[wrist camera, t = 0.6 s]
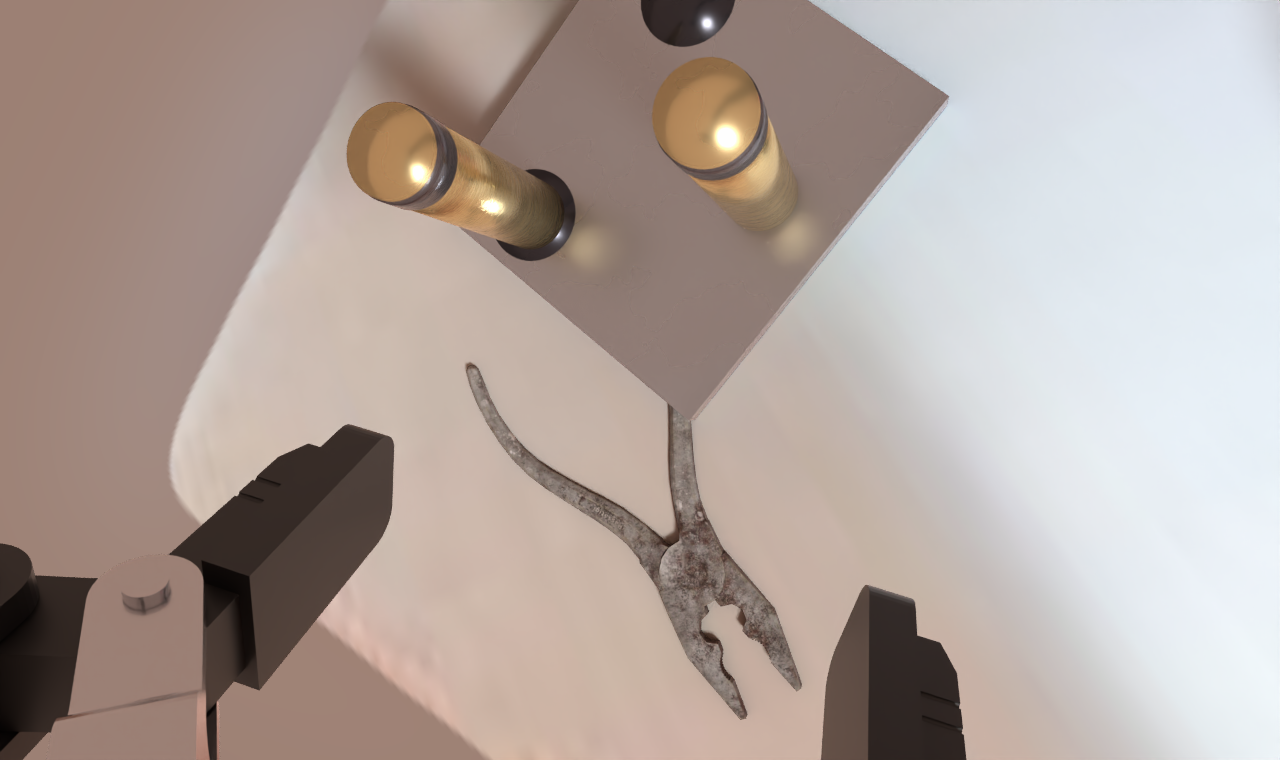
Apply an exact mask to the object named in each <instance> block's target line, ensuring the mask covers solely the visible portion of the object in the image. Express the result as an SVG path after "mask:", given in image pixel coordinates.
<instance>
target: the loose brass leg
mask: <svg viewBox="0 0 1280 760" xmlns="http://www.w3.org/2000/svg"><path fill="white" fill-rule="evenodd" d="M652 124H653V129H654V133H655V136H656V139H657V141H658V143H659V146H660V147H661V149H662V150H663V152H664V153H665V154H666V155H667V156H668V157H669V158H670V159H671V160H672V161H673V162H674V163H675V164H676V165H677V166H678V167H679V168H680V169H681V170H682V171H683V172H685V173H686V174H688V175H689V176H690V177H691V178H692V179H693V180H694V181H695V182H696V183H697V184H698V185H699V186H700V187H701V188H702V189H703V190H704V191H705V192H706V193H707V194H708V195H709V196H710V197H711V198H712V199H713V200H714V201H715V202H716V203H717V205H718V206H719V207H720V208H721V209H722V210H723V211H724V212H725V213H726V214H727V215H728V216H729V217H730V218H731V219H732V220H733V221H734V222H736V223H737V224H738V225H740V226H741V227H743V228H745V229H748V230H753V231H765V230H769V229H772V228H775V227H777V226H778V225H780V224H781V223H783V222H784V221H785V220H786V219H787V218H788V217H789V216H790V214H791V213H792V212H793V210H794V208H795V205H796V202H797V198H798V185H797V181H796V178H795V175H794V173H793V171H792V169H791V166H790V164H789V162H788V160H787V157H786V155H785V153H784V151H783V148H782V146H781V144H780V142H779V139H778V137H777V135H776V133H775V130H774V128H773V126H772V124H771V121H770V119H769V117H768V115H767V110H766V106H765V103H764V101H763V99H762V97H761V94H760V92H759V90H758V88H757V86H756V84H755V82H754V81H753V79H752V78H751V77H750V75H749V74H748V73H747V72H746V71H744V70H743V69H742V68H741V67H739V66H738V65H736V64H735V63H733V62H731V61H728V60H726V59H722V58H717V57H704V58H698V59H694V60H691V61H689V62H687V63H685V64H683V65H681V66H679V67H678V68H677V69H675V70H674V71H673V72H672V73H671V74H670V75H669V76H668V77H667V78H666V79H665V81H664V82H663V83H662V85H661V86H660V88H659V90H658V92H657V94H656V97H655V100H654V104H653V110H652Z"/></svg>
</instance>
